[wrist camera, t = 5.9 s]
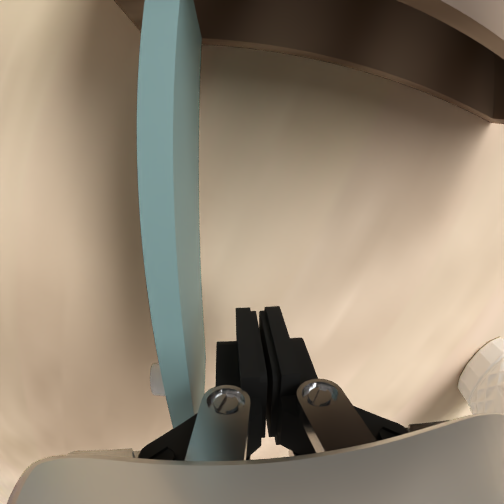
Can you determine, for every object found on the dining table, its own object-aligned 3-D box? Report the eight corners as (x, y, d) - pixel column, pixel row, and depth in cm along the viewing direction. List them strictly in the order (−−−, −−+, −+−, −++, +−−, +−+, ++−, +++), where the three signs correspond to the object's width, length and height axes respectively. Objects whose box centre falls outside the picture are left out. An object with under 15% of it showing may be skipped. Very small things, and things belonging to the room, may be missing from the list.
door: (156, 41, 11) (102, -29, 4) (201, 38, 11) (184, -41, 5) (170, 356, 17) (153, 460, 10) (205, 357, 17) (202, 462, 10)
